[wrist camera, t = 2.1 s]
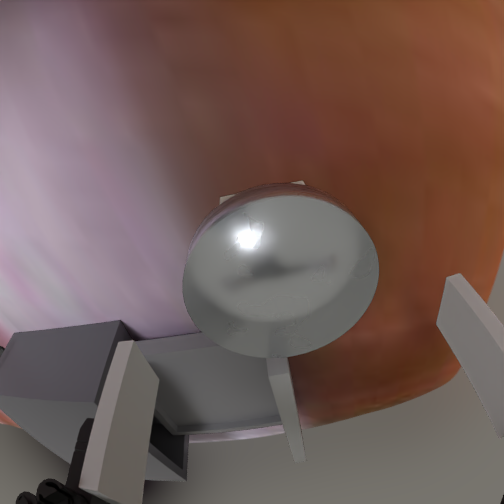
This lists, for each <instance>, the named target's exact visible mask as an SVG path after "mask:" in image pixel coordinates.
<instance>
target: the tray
mask: <svg viewBox="0 0 504 504" xmlns="http://www.w3.org/2000/svg"><path fill="white" fill-rule="evenodd" d="M135 343H136V345H137V346H138V348H139V349H140V351H141V352H142V354H143V356H144V357H145V359H146V360H147V362H148V363H149V365H150V366H151V368H152V369H153V371H154V372H155V374H156V375H157V377H158V378H159V385H158V391H157V397H156V403H155V409H154V416H155V417H156V418H157V419H158V420H159V421H160V422H161V423H162V424H163V425H164V426H165V428H166V429H167V430H168V431H169V432H170V433H171V434H172V435H192V434H208V433H220V432H230V431H240V430H248V429H256V428H263V427H269V426H276V425H282V424H283V427H284V430H285V434H286V437H287V440H288V443H289V447H290V450H291V453H292V456H293V459H294V462H295V463H298V462H304V461H306V455H305V449H304V443H303V437H302V431H301V425H300V420H299V414H298V408H297V403H296V398H295V393H294V388H293V382H292V377H291V372H290V367H289V362H288V357H283V358H260V357H252V356H247V355H242V354H239V353H236V352H233V351H230V350H228V349H226V348H224V347H222V346H220V345H218V344H217V343H215V342H213V341H212V340H211V339H209V338H208V337H207V336H206V335H205V334H204V333H203V332H200V333H194V334H187V335H180V336H173V337H166V338H158V339H151V340H142V341H135Z"/></svg>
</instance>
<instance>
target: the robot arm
mask: <svg viewBox="0 0 504 504" xmlns="http://www.w3.org/2000/svg"><path fill="white" fill-rule="evenodd" d="M436 325H437V327H438V328H439V330H440V331H441V333H442V335H443V336H444V338H445V339H446V341H447V343H448V344H449V346H450V348H451V349H452V351H453V353H454V354H455V356H456V358H457V359H458V361H459V363H460V364H461V366H462V368H463V370H464V371H465V373H466V375H467V377H468V378H469V380H470V382H471V384H472V386H473V388H474V389H475V391H476V393H477V395H478V397H479V399H480V401H481V403H482V404H483V407H484V408H485V411H486V413H487V414H488V417H489V418H490V421H491V423H492V425H493V427H494V429H495V431H496V433H497V435H498V438H499V439H500V438H502V437H504V326H503V325H502V323H501V322H500V321H499V319H498V318H497V317H496V316H495V314H494V313H493V312H492V310H491V309H490V308H489V307H488V305H487V304H486V303H485V302H484V301H483V299H482V298H481V297H480V296H479V295H478V293H477V292H476V291H475V290H474V289H473V287H472V286H471V285H470V284H469V283H468V282H467V280H466V279H465V278H464V277H463V276H462V275H461V274H460V273H459V274H456V275H452V276H449V277H446V282H445V287H444V292H443V296H442V301H441V305H440V309H439V314H438V318H437V321H436ZM158 385H159V378H158V377H157V375H156V374H155V372H154V371H153V369H152V368H151V366H150V365H149V363H148V362H147V360H146V359H145V357H144V356H143V354H142V352H141V351H140V349H139V348H138V346H137V345H136V343H135V341H134V340H131V341H121V342H118V345H117V347H116V350H115V353H114V356H113V359H112V363H111V366H110V369H109V372H108V375H107V378H106V381H105V385H104V388H103V391H102V395H101V398H100V402H99V405H98V409H97V412H96V416H95V418H87V419H86V420H85V422H84V423H83V425H82V426H81V428H80V430H79V434H78V437H77V442H76V445H75V451H74V453H73V457H72V461H71V465H70V469H69V473H68V478H67V482H66V485H63V484H62V483H60V482H58V481H56V480H55V479H46V480H44V481H43V482H41V483H40V484H39V486H38V489H37V493H36V496H35V495H33V494H31V493H30V492H23V493H21V494H20V495H19V496H18V497H17V500H16V504H142V496H143V487H144V479H145V471H146V463H147V455H148V448H149V441H150V434H151V428H152V421H153V415H154V409H155V403H156V397H157V391H158ZM501 504H504V495H503V498H502V501H501Z"/></svg>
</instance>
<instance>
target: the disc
mask: <svg viewBox="0 0 504 504" xmlns="http://www.w3.org/2000/svg"><path fill="white" fill-rule="evenodd" d="M378 277H379V261H378V256H377V252H376V249H375V246H374V244H373V242H372V240H371V238H370V236H369V235H368V233H367V232H366V230H365V229H364V228H363V226H362V225H361V224H360V223H359V221H358V220H357V219H356V217H355V216H354V215H353V214H352V213H351V211H350V210H349V209H348V208H347V207H346V206H345V205H344V204H343V203H342V202H340V201H339V200H338V199H337V198H335V197H333V196H332V195H330V194H328V193H327V192H324V191H322V190H320V189H317V188H314V187H311V186H307V185H303V184H295V183H273V184H265V185H260V186H257V187H253V188H249V189H247V190H244V191H242V192H240V193H237V194H235V195H234V196H232V197H230V198H228V199H227V200H225V201H224V202H222V203H221V204H220V205H218V206H217V207H216V208H214V209H213V210H212V211H211V212H210V214H209V215H208V216H207V217H206V218H205V219H204V220H203V222H202V223H201V224H200V226H199V227H198V229H197V231H196V233H195V234H194V236H193V239H192V241H191V244H190V247H189V251H188V256H187V260H186V265H185V270H184V276H183V297H184V302H185V305H186V308H187V311H188V313H189V315H190V317H191V319H192V320H193V322H194V323H195V324H196V326H197V327H198V328H199V329H200V330H201V331H202V332H203V333H204V334H205V335H206V336H207V337H208V338H209V339H211V340H212V341H213V342H215V343H217V344H218V345H220V346H222V347H224V348H226V349H228V350H230V351H233V352H236V353H239V354H242V355H247V356H252V357H260V358H283V357H290V356H296V355H300V354H304V353H308V352H310V351H313V350H316V349H318V348H321V347H323V346H325V345H327V344H329V343H331V342H332V341H334V340H336V339H337V338H339V337H340V336H342V335H343V334H344V333H346V332H347V331H348V330H349V329H350V328H351V327H353V326H354V324H355V323H356V322H357V321H358V320H359V319H360V318H361V317H362V315H363V314H364V313H365V311H366V310H367V308H368V306H369V305H370V303H371V301H372V299H373V296H374V294H375V291H376V288H377V284H378Z"/></svg>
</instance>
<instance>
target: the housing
mask: <svg viewBox="0 0 504 504" xmlns="http://www.w3.org/2000/svg"><path fill="white" fill-rule="evenodd" d="M131 340H132V338H131V337H130V335H129V334H128V332H127V330H126V329H125V327H124V326H123V324H122V322H121V321H120V320H118V321H111V322H104V323H96V324H89V325H81V326H73V327H65V328H56V329H48V330H38V331H29V332H19V333H14V334H13V336H12V337H11V339H10V341H9V343H8V344H7V346H6V348H5V350H4V352H3V354H2V355H1V357H0V409H1V410H2V411H3V412H4V413H5V414H6V415H7V416H9V417H10V418H11V419H12V420H13V421H14V422H15V423H17V424H18V425H19V426H20V427H21V428H23V429H24V430H25V431H26V432H27V433H29V434H30V435H31V436H32V437H34V438H35V439H36V440H38V441H39V442H40V443H42V444H43V445H44V446H46V447H47V448H48V449H50V450H51V451H52V452H54V453H55V454H56V455H58V456H59V457H61V458H62V459H64V460H65V461H67V462H68V463H70V464H71V461H72V457H73V453H74V451H75V445H76V442H77V437H78V434H79V430H80V428H81V426H82V425H83V423H84V422H85V420H86V419H87V418H95V416H96V412H97V409H98V405H99V402H100V398H101V395H102V391H103V388H104V385H105V381H106V378H107V375H108V372H109V369H110V366H111V363H112V359H113V356H114V353H115V350H116V347H117V345H118V342H121V341H131ZM188 443H189V435H172V434H171V433H170V432H169V431H168V430H167V429H166V428H165V426H164V425H163V424H162V423H161V422H160V421H159V420H158V419H157V418H156V417H155V416H154V415H153V421H152V428H151V434H150V441H149V448H148V455H147V463H146V471H145V479H144V480H160V481H187V463H188Z"/></svg>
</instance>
